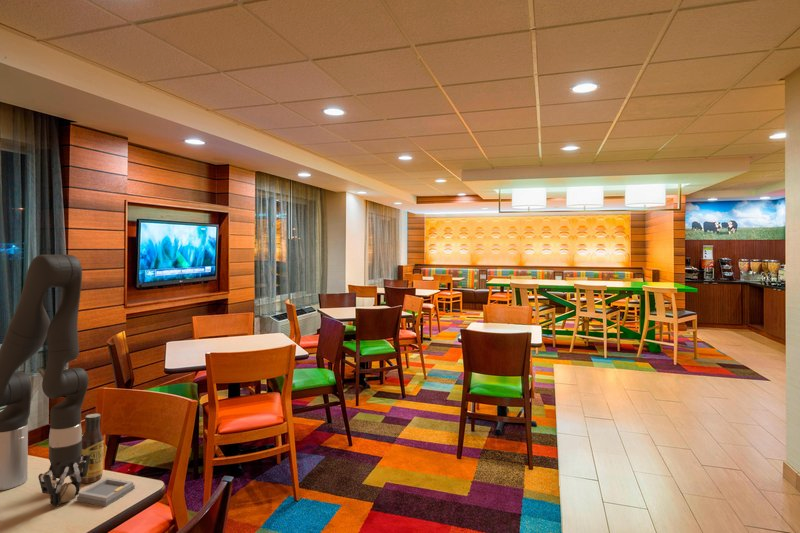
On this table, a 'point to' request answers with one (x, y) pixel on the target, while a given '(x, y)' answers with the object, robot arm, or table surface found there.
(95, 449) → the sauce bottle
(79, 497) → the grey square tray
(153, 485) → the table surface
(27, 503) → the table surface
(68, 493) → the door knob
